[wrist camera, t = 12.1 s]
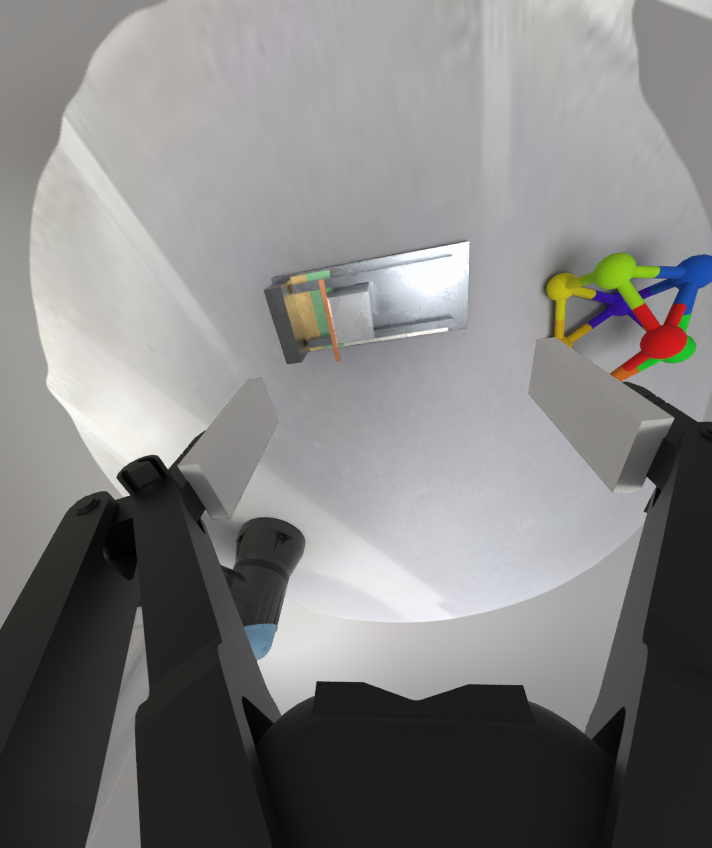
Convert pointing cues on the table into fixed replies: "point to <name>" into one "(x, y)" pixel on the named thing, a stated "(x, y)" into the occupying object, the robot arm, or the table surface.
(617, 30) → the table surface
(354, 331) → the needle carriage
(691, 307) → the educational toy
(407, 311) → the base
